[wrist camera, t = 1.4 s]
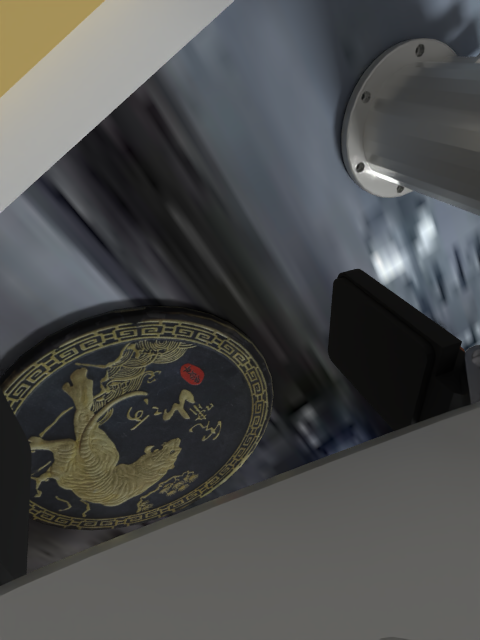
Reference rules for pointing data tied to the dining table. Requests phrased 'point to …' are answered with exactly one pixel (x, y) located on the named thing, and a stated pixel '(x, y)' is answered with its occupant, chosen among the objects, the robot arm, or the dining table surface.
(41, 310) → the dining table surface
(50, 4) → the ochre panel
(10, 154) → the overhang dock
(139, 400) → the decorative plate
